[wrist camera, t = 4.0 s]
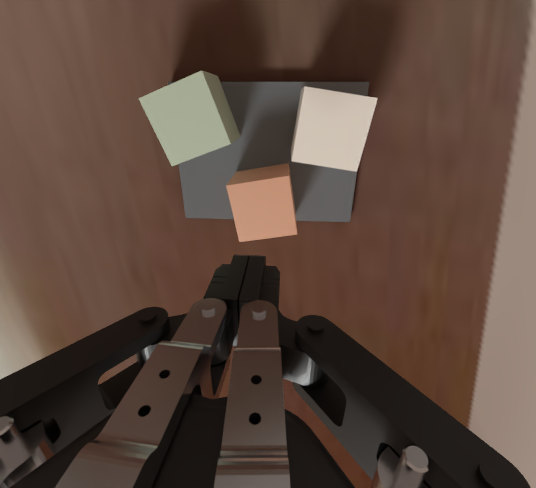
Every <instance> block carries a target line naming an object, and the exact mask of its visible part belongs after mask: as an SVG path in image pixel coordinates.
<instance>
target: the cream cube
mask: <svg viewBox="0 0 536 488" xmlns="http://www.w3.org/2000/svg"><path fill="white" fill-rule="evenodd" d="M377 99H378V98H374V97H368V96H361V95H355V94H349V93H343V92H337V91H330V90H324V89H318V88H312V87H306V86H304V87H303V88H302V89H301V94H300V100H299V106H298V112H297V118H296V123H295V129H294V135H293V141H292V146H291V161H293V162H299V163H305V164H311V165H318V166H324V167H330V168H337V169H343V170H349V171H355V172H357V170H358V166H359V163H360V159H361V156H362V152H363V149H364V145H365V141H366V138H367V134H368V131H369V127H370V124H371V120H372V117H373V113H374V110H375V106H376V102H377Z"/></svg>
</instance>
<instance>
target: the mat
mask: <svg viewBox="0 0 536 488" xmlns="http://www.w3.org/2000/svg"><path fill="white" fill-rule="evenodd" d="M172 83H175V82H168V85H170V84H172ZM220 83H221V86H222V88H223V91H224V94H225V96H226V99H227V102H228V104H229V107H230V110H231V112H232V115H233V118H234V120H235V123H236V126H237V128H238V131H239V134H240V137H239V138H238V139H237V140H235V141H234V142H233V143H231V144H229V145H227V146H224V147H222V148H219V149H216V150H214V151H211V152H208V153H206V154H203V155H201V156H198V157H195V158H193V159H190V160H187V161H185V162H182V163H180V164H179V170H180V178H181V185H182V193H183V201H184V208H185V216H186V218H212V219H234V217H233V213H232V208H231V204H230V200H229V196H228V192H227V187H226V185H227V184H228V182H229V181H230V180H231V178H232V177H233V175H234V174H235V173H236V172H237V171H243V170H249V169H256V168H262V167H268V166H274V165H280V164H286V163H289V169H290V176H291V184H292V191H293V198H294V205H295V213H296V221H330V222H350V218H351V211H352V204H353V196H354V189H355V182H356V175H357V172H355V171H349V170H343V169H337V168H330V167H324V166H318V165H311V164H305V163H299V162H293V161H291V146H292V141H293V135H294V129H295V123H296V118H297V112H298V106H299V100H300V94H301V89H302V88H303V87H304V86H306V87H312V88H318V89H324V90H330V91H337V92H343V93H349V94H355V95H361V96H368V89H369V82H220Z"/></svg>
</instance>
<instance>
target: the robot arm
mask: <svg viewBox="0 0 536 488" xmlns="http://www.w3.org/2000/svg"><path fill="white" fill-rule="evenodd" d="M279 285H280V272H279V270H278V269H277V267H276V266H266V256H261V255H234V256H233V259H232V262H231V264H222V265H221V266H220V267H219V268H217V269H216V271H215V273H214V275H213V278H212V280H211V283H210V285H209V287H208V289H207V291H206V294H205V296H204V298H203V299H202V300H200V301H198V302H196V303H194V304H193V305H192V307H191V308H190V310H189V312H188V313H187V314H183V315H178V316H172V317H168V313H167V311H166V310H165V309H163V308H160V307H149V308H145V309H142V310H140V311H138V312H136V313H134V314H131V315H129V316H127V317H125V318H123V319H121V320H119V321H117V322H115V323H113V324H111V325H109V326H107V327H105V328H103V329H101V330H99V331H97V332H95V333H93V334H91V335H89V336H87V337H85V338H83V339H81V340H79V341H77V342H75V343H73V344H71V345H69V346H67V347H65V348H63V349H61V350H59V351H57V352H55V353H53V354H51V355H49V356H47V357H45V358H43V359H41V360H39V361H37V362H35V363H33V364H31V365H29V366H27V367H25V368H23V369H21V370H19V371H17V372H15V373H13V374H11V375H9V376H7V377H5V378H3V379H1V380H0V488H355V487H354V486H353V484H352V483H351V482H350V480H349V479H348V478H347V476H346V475H345V474H344V472H343V471H342V470H341V468H340V467H339V466H338V464H337V463H336V462H335V460H334V459H333V458H332V456H331V455H330V454H329V452H328V451H327V450H326V448H325V447H324V446H323V444H322V443H321V442H320V440H319V439H318V438H317V436H316V435H315V434H314V432H313V431H312V430H311V428H310V427H309V426H308V425H307V424H306V423H305V422H304V421H302V420H301V419H300V418H299V417H298V416H296V415H295V414H293V413H291V412H290V411H288V410H286V409H284V394H283V378H284V379H287V380H290V381H292V383H293V387H294V389H295V390H296V391H297V393H298V394H299V395H300V396H301V397H302V398H303V400H304V401H305V402H306V403H307V404H308V405H309V407H310V408H311V409H312V410H313V411H314V412H315V414H316V415H317V416H318V417H319V418H320V419H321V421H322V422H323V423H324V424H325V425H326V426H327V428H328V429H329V430H330V431H331V432H332V434H333V435H334V436H335V437H336V438H337V439H338V441H339V442H340V443H341V444H342V445H343V446H344V448H345V449H346V450H347V451H348V452H349V453H350V455H351V456H352V457H353V458H354V459H355V460H356V462H357V463H358V464H359V465H360V466H361V467H362V469H363V470H364V471H365V472H366V473H367V475H368V476H369V477H370V478H371V479H372V483H371V488H530V486H529V484H528V482H527V481H526V479H525V478H524V476H523V475H522V474H521V473H520V472H519V470H518V469H517V468H516V467H514V465H513V464H512V463H510V462H509V461H508V460H507V459H506V458H504V457H503V456H502V455H501V454H499V453H498V452H497V451H495V450H494V449H493V448H492V447H490V446H489V445H488V444H487V443H485V442H484V441H483V440H481V439H480V438H479V437H478V436H476V435H475V434H474V433H472V432H471V431H470V430H469V429H467V428H466V427H465V426H464V425H462V424H461V423H460V422H458V421H457V420H456V419H455V418H453V417H452V416H451V415H449V414H448V413H447V412H446V411H444V410H443V409H442V408H441V407H439V406H438V405H437V404H435V403H434V402H433V401H432V400H430V399H429V398H428V397H426V396H425V395H424V394H423V393H421V392H420V391H419V390H418V389H416V388H415V387H414V386H412V385H411V384H410V383H409V382H407V381H406V380H405V379H403V378H402V377H401V376H400V375H398V374H397V373H396V372H395V371H393V370H392V369H391V368H389V367H388V366H387V365H386V364H384V363H383V362H382V361H380V360H379V359H378V358H377V357H375V356H374V355H373V354H372V353H370V352H369V351H368V350H366V349H365V348H364V347H363V346H361V345H360V344H359V343H357V342H356V341H355V340H354V339H352V338H351V337H350V336H349V335H347V334H346V333H345V332H343V331H342V330H341V329H340V328H338V327H337V326H336V325H334V324H333V323H332V322H331V321H329V320H328V319H326V318H324V317H321V316H317V315H308V316H304V317H302V318H300V319H299V320H298V322H297V321H293V320H290V319H288V318H286V317H284V316H283V315H282V314H281V313H280V311H279ZM232 346H237V347H234V351H233V359H232V367H231V375H230V383H229V390H228V397H223V398H219V395H220V392H221V389H222V386H223V382H224V379H225V376H226V373H227V370H228V367H229V364H230V354H231V350H232ZM135 354H136V357H137V362H136V363H134V364H133V365H131V366H129V367H128V368H126V369H124V370H123V371H121V372H120V373H118V374H116V375H115V376H113V377H111V378H110V379H108V380H107V381H105V382H103V383H102V384H99V385H98V380H99V378H100V377H101V376H102V375H103V374H104V373H105V372H106V371H108V370H109V369H111V368H113V367H114V366H116V365H118V364H119V363H121V362H123V361H124V360H126V359H128V358H130V357H131V356H133V355H135Z"/></svg>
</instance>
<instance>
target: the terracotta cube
mask: <svg viewBox="0 0 536 488" xmlns="http://www.w3.org/2000/svg"><path fill="white" fill-rule="evenodd" d="M226 187H227V192H228V196H229V200H230V204H231V208H232V213H233V217H234V221H235V225H236V229H237V233H238V238H239V242H243V241H251V240H258V239H266V238H274V237H281V236H289V235H297V225H296V213H295V205H294V198H293V191H292V184H291V176H290V169H289V163H286V164H280V165H274V166H268V167H262V168H256V169H249V170H243V171H237V172H236V173H235V174H234V175H233V177H232V178H231V180H230V181H229V182H228V184H227V185H226Z"/></svg>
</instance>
